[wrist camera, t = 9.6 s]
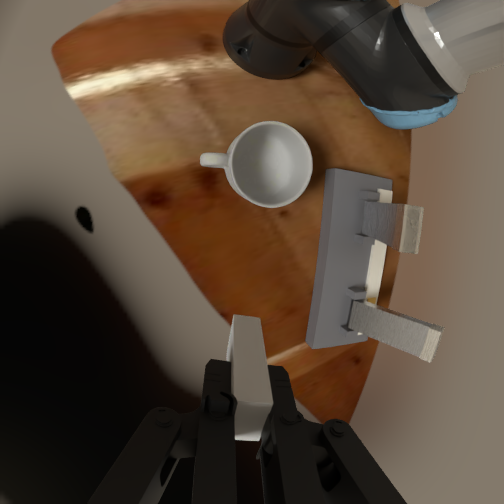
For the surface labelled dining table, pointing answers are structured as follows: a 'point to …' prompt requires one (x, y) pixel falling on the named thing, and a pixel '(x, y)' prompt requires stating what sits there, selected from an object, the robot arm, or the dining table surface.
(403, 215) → the lever inner
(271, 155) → the teacup
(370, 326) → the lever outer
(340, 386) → the dining table surface
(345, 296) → the grey stand base
